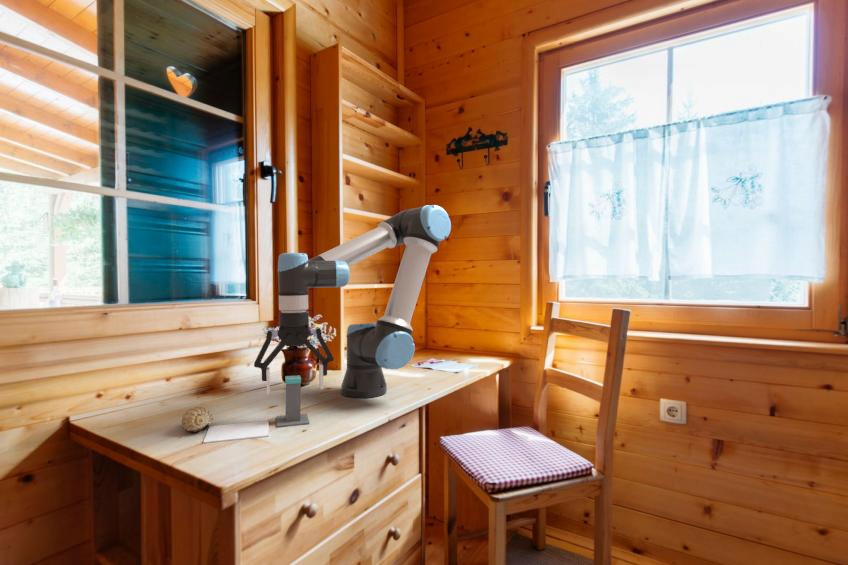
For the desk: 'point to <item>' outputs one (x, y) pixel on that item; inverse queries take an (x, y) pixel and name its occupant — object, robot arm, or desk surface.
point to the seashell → (196, 419)
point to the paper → (237, 431)
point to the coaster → (282, 422)
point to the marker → (292, 398)
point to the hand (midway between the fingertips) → (295, 390)
